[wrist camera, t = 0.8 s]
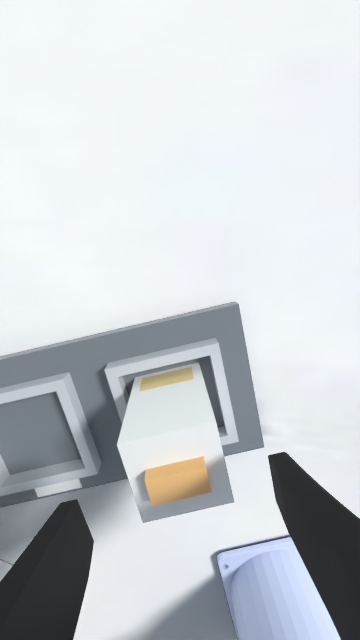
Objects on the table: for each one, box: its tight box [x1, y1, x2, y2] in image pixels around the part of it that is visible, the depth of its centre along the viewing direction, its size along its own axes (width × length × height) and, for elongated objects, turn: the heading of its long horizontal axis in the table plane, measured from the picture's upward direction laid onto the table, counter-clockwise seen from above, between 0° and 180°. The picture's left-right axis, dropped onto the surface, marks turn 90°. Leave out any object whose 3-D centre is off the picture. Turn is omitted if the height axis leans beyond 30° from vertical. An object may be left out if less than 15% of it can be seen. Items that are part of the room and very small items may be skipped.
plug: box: [117, 363, 234, 523], centre depth 14 cm, size 4×4×7 cm
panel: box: [0, 302, 264, 507], centre depth 17 cm, size 10×19×2 cm, turn 103°
